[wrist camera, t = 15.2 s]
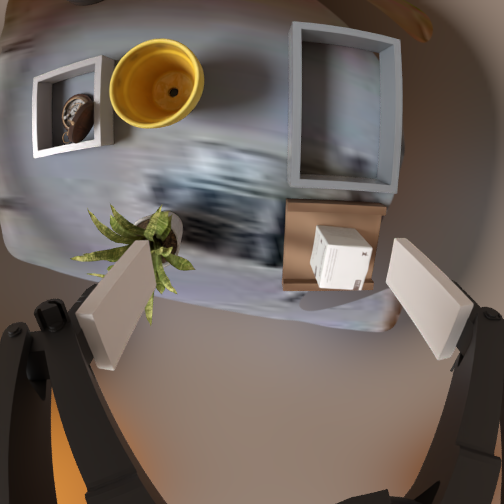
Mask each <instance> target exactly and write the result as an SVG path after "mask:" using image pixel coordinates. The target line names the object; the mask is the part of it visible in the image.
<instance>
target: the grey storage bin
mask: <svg viewBox="0 0 504 504" xmlns="http://www.w3.org/2000/svg"><path fill="white" fill-rule="evenodd" d="M288 38H289V104H288V157H287V182H288V183H289V185H290V186H291V187H302V188H325V189H343V190H358V191H372V192H384V193H395V194H396V193H397V187H398V178H399V167H400V154H401V137H402V63H401V62H402V61H401V46H400V40H398V39H395V38H391V37H387V36H383V35H379V34H374V33H370V32H365V31H360V30H355V29H350V28H344V27H337V26H331V25H323V24H315V23H305V22H294V21H293V22H292V25H291V28H290V31H289V34H288ZM301 41H307V42H317V43H326V44H333V45H340V46H347V47H353V48H358V49H364V50H369V51H373V52H378V53H380V54H379V55H380V136H379V155H378V169H377V179H371V178H360V177H347V176H332V175H315V174H300V156H301V115H302V43H301Z"/></svg>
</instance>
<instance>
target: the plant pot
mask: <svg viewBox="0 0 504 504" xmlns="http://www.w3.org/2000/svg"><path fill="white" fill-rule="evenodd" d="M173 88H176V89H177V90H178V94H177V95H176V96H175V97H171V96H170V90H171V89H173ZM203 88H204V73H203V69H202V66H201V64H200V62H199V61H198V59H197V57H196V56H195V55H194V54H193V52H192V51H191V50H190V49H189V48H188V47H186V46H185V45H183V44H182V43H180V42H177V41H175V40H170V39H153V40H149V41H146V42H143V43H141V44H139V45H137V46H135V47H134V48H132V49H131V50H130V51H128V52H127V53H126V54H125V55H124V56H123V57H122V59H121V60H120V61H119V63H118V64H117V66H116V68H115V70H114V72H113V74H112V77H111V81H110V100H111V103H112V106H113V108H114V110H115V111H116V113H117V114H118V116H119V117H120V118H121V119H122V120H124V121H125V122H127V123H128V124H130V125H133V126H135V127H139V128H160V127H165V126H169V125H172V124H174V123H177V122H178V121H180V120H182V119H183V118H185V117H186V116H187V115H188V114H189V113H190V112H191V111H192V110H193V109H194V108H195V106H196V105H197V103H198V102H199V100H200V97H201V95H202V92H203Z"/></svg>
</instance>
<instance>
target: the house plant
mask: <svg viewBox="0 0 504 504" xmlns="http://www.w3.org/2000/svg"><path fill="white" fill-rule="evenodd" d="M110 206H111V209H112V212H113V215H114V217H115V218H114V217H112V215H111V216H110V225H111V227H112V229H113V230H114V231H115V232H116V233H118V234H119V235H118V234H116V233H115V232H113V231H112V230H111V229H109V228H108V227H106V226H105V225H103V224H102V223H101V222H99V221H98V219H97V218H96V217H95V216H94V214H92V213H91V212H90V211H89V210H88V212H89V214H90V216H91V218H92V221H93V222H94V224H95V225H96V227H97V228H98V230H99V231H100V232H101V233H102V234H103V235H105V236H106V237H107V238H109V239H110V240H112V241H114V242H116V243H123V244H129V245H127V246H123V247H118V248H113V249H109V250H103V251H97V252H93V253H90V254H89V253H86V254H83V255H84V256H76V257H73V258H70V259H72V260H77V261H99V260H108V261H110V262H116V261H118V260H119V259H120V258H121V256H122V255H123V254H124V253H125V252H126V251H127V250H128V248H129V247H130V246H131V245H132V244H133V243H134V242H135V241H136V240H149V245H150V252H151V258H152V264H153V269H154V275H155V280H156V285H157V286H156V288H157V290H158V291H159V292H160V293H161V294H162V293H163V291H164V290H165V287H166V288H167V289H168V290H169V291H171V292H174V293H176V294H177V292H176V290H175V289H174V288H173V287H172V286H171V283H170V280H169V279H168V277H167V276H166V274H165V272H164V269H163V267H166V266H168V265H170V264H171V265H172V266H174V267H175V268H177V269H179V270H195V269H194V268H193V266H192V264H191V263H190V262H189V261H188V260H186V259H184V258H182V257H179V256H178V253H179V249H180V244H181V239H182V233H183V225H182V221H181V220H180V218H179V217H178V216H177V215H176V214H174V213H173V212H170V211H162V212H161V206H162V205H161V206H160V207H159V209H158V210H157V211H156V213H154V214H152V215H149V216H146V217H143V218H141V219H140V220H138V221H136V222H135V223H134V225H133V224H132V223H130V222H129V221H127V220H126V219H125V218H124V217H123V216H121V215H120V214H119V213H118V212H117V211H116V210H115V208H114V207H113V206H112V205H111V204H110ZM87 209H88V208H87ZM120 235H121V236H120ZM122 236H123V237H122ZM113 266H114V265H112V266H109V267H108V268H107V270H108V271H109V270H110V269H111V268H112V267H113ZM89 275H94V276H98V277H102V278H104V276H105V275H101V274H89ZM153 297H154V291H153V293H152V295H151V297H150V299H149V301H148V303H147V305H146V307H145V312H146V317H147V320H148V321H149V323H150V325H151V323H152V308H153Z"/></svg>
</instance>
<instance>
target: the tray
mask: <svg viewBox="0 0 504 504" xmlns="http://www.w3.org/2000/svg"><path fill="white" fill-rule="evenodd" d="M386 209H387V207H386V206H384V205H383V204H381V203H372V202H356V201H338V200H315V199H286V215H285V237H284V256H283V274H282V286H283V291H338V290H339V291H340V290H348V289H328V288H319V285H318V283H317V280H316V278H315V275H314V272H313V270H312V267H311V265H310V259H311V255H312V251H313V245H314V239H315V233H316V226H317V225H323V226H333V227H343V228H354V229H356V230H357V231H358V232H359V233H360V235H361V236H362V237H363V238H364V239H365V240H366V241H367V242H368V243H369V244H370V246H371V247H372V248H373V250H372V254H371V259H370V263H369V268H368V272H367V274H366V278H365V281H364V284H363V287H362V290H373V286H374V282H373V281H372V279H371V276H372V272H373V266H374V261H375V255H376V248H377V243H378V237H379V230H380V223H381V216H382V215H386Z"/></svg>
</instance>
